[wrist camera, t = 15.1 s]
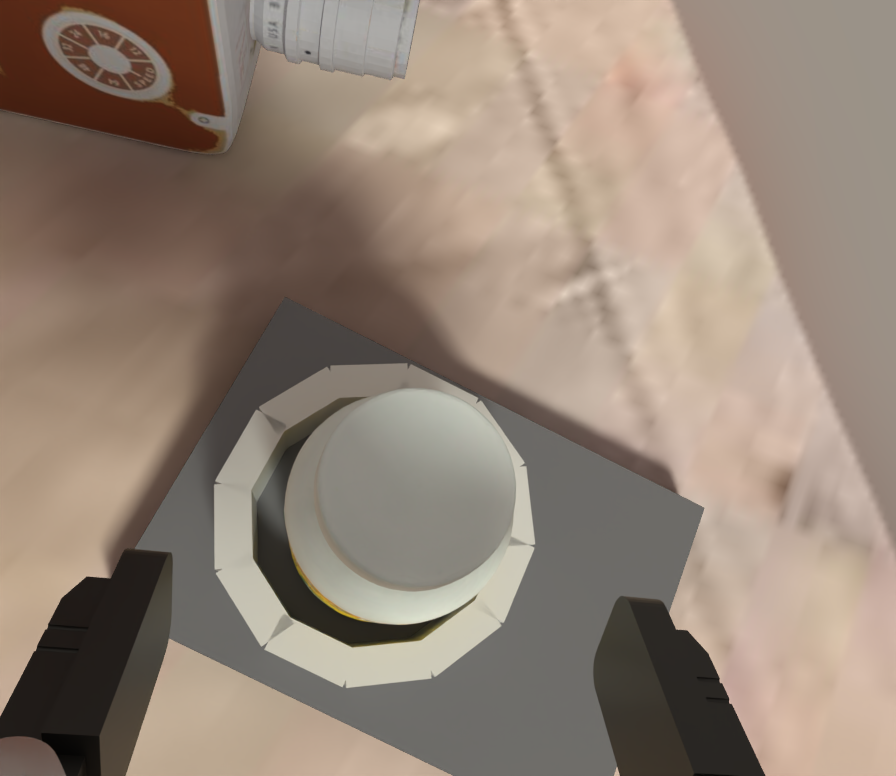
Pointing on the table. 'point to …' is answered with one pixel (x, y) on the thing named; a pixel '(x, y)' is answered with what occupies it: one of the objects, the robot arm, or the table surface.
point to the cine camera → (181, 59)
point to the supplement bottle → (400, 506)
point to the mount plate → (435, 641)
